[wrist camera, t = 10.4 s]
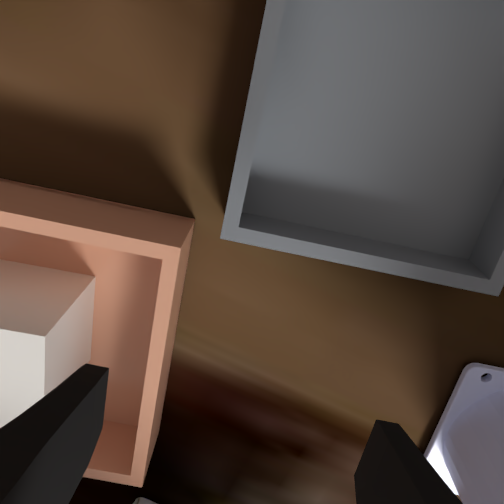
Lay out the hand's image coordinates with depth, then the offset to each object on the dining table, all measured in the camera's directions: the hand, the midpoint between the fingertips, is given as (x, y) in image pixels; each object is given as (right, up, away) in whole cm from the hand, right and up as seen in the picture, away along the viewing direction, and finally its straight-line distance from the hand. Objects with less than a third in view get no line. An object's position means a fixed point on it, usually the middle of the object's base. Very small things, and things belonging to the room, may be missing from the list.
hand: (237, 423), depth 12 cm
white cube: (-9, +2, +9) cm, 13 cm away
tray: (+6, +10, +6) cm, 13 cm away
